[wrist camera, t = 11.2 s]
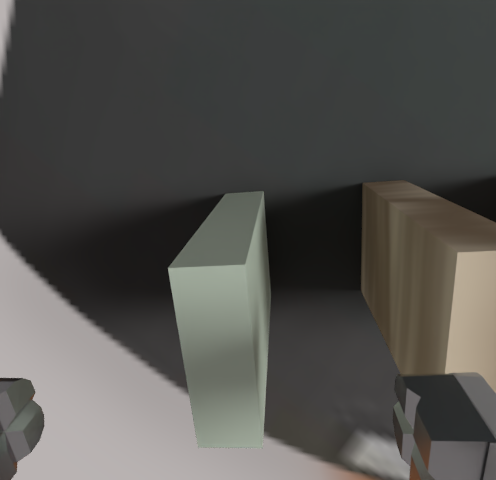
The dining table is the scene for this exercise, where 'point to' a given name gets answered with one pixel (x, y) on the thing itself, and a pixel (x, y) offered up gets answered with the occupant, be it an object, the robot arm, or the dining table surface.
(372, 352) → the dining table surface
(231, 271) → the end domino
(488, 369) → the domino
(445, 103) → the dining table surface
